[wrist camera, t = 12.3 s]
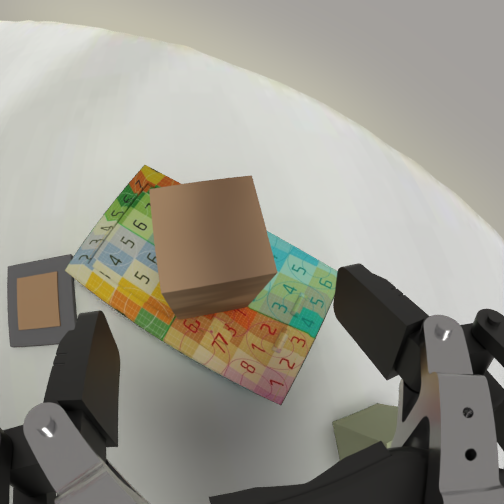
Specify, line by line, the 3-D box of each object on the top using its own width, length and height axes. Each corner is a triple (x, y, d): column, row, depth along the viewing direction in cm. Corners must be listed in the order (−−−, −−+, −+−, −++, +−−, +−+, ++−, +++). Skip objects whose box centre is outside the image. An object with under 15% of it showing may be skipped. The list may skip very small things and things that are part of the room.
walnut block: (178, 319, 20) (161, 293, 12) (167, 253, 22) (149, 189, 13) (247, 307, 21) (277, 272, 13) (232, 242, 23) (251, 175, 14)
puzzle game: (284, 407, 19) (59, 266, 20) (270, 398, 23) (80, 281, 24) (348, 272, 23) (143, 158, 24) (326, 286, 28) (150, 186, 28)
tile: (13, 347, 20) (9, 346, 19) (10, 268, 23) (6, 266, 22) (79, 341, 22) (76, 341, 21) (73, 256, 24) (70, 253, 24)
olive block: (341, 465, 21) (393, 497, 13) (332, 421, 23) (386, 443, 15) (384, 445, 23) (443, 464, 14) (377, 403, 24) (439, 412, 16)
